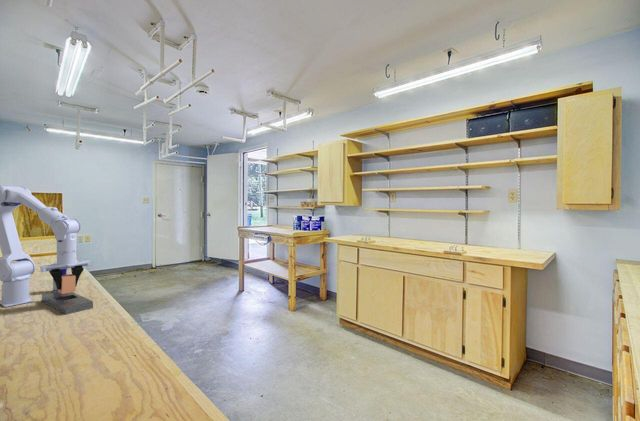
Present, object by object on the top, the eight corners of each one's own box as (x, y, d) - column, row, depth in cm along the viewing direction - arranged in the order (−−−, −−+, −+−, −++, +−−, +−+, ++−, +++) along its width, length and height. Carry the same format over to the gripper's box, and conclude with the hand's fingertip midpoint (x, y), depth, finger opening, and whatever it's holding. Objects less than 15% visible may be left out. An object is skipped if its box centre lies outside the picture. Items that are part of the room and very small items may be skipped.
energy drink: (59, 293, 127) (59, 264, 127) (49, 292, 129) (49, 264, 128) (72, 290, 133) (72, 262, 132) (62, 289, 134) (62, 261, 134)
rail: (41, 301, 118) (41, 294, 118) (67, 296, 124) (67, 289, 124) (65, 314, 105) (65, 307, 105) (93, 308, 111) (93, 301, 111)
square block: (58, 292, 114) (58, 276, 114) (71, 289, 117) (71, 274, 117) (62, 294, 112) (62, 277, 111) (75, 291, 115) (75, 275, 115)
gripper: (45, 255, 106) (45, 294, 106) (94, 250, 118) (94, 285, 118) (38, 253, 110) (38, 290, 110) (86, 248, 122) (86, 282, 122)
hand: (66, 287), depth 114 cm, fingers closed on square block, 4 cm apart
